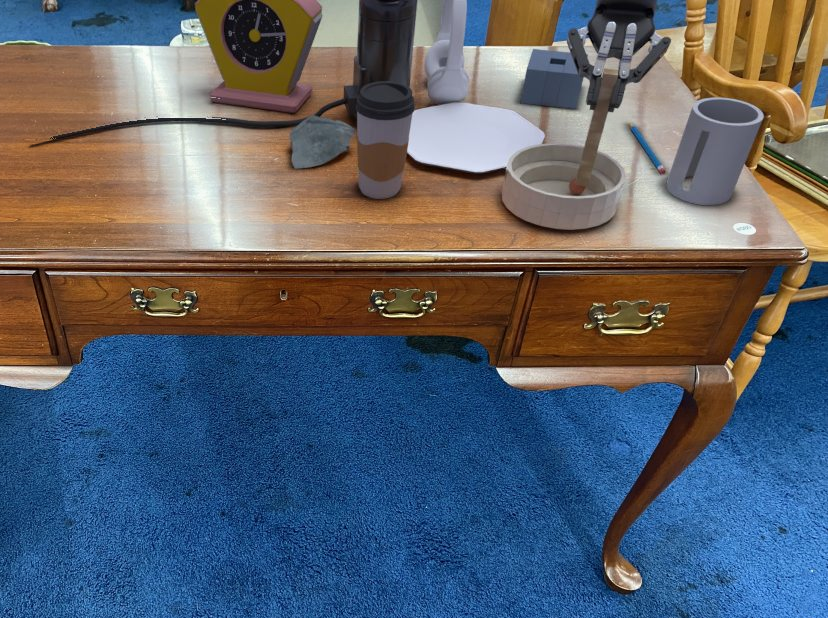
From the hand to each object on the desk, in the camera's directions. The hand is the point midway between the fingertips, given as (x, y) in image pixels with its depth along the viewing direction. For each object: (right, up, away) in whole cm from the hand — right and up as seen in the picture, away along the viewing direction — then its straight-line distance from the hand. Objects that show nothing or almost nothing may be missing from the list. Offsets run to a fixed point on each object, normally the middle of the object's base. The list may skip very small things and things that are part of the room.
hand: (602, 108), depth 107 cm
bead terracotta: (+1, -7, +11) cm, 13 cm away
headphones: (-13, +17, +40) cm, 45 cm away
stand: (+6, +17, +38) cm, 43 cm away
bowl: (-2, -10, +11) cm, 15 cm away
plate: (-12, +4, +26) cm, 29 cm away
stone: (-37, +1, +24) cm, 44 cm away
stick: (+1, -7, +10) cm, 12 cm away
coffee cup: (-28, -7, +16) cm, 33 cm away
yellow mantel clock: (-46, +17, +41) cm, 64 cm away
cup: (+20, -7, +13) cm, 25 cm away
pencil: (+16, +2, +23) cm, 29 cm away
